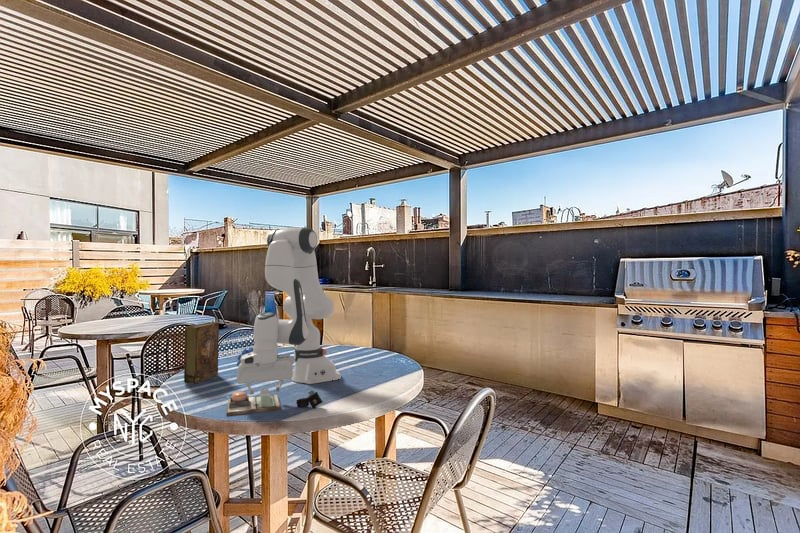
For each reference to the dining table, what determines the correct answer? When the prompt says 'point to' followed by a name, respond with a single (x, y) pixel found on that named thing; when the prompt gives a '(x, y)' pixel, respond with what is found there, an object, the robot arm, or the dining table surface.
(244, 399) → the button
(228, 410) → the picture board
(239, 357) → the grapes
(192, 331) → the book
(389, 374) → the dining table surface
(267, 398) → the marker
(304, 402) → the black angular piece
